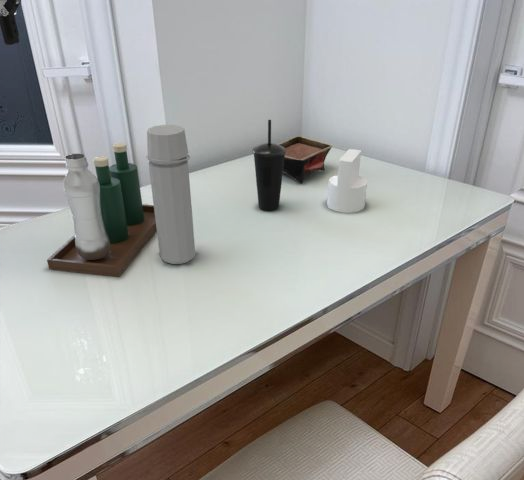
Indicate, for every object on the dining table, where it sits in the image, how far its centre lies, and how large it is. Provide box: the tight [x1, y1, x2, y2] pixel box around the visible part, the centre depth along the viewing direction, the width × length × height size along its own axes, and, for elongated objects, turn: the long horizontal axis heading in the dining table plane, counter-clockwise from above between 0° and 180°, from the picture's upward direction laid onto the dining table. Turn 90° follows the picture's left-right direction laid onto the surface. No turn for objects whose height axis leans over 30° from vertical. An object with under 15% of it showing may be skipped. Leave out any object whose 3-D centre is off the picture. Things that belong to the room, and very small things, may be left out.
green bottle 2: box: [109, 142, 144, 226], centre depth 120 cm, size 6×6×17 cm
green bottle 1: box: [93, 155, 129, 243], centre depth 113 cm, size 6×6×17 cm
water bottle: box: [146, 124, 196, 265], centre depth 105 cm, size 9×8×25 cm
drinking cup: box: [251, 119, 286, 212], centre depth 126 cm, size 8×8×20 cm
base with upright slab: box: [326, 148, 368, 214], centre depth 129 cm, size 9×9×12 cm
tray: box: [46, 203, 157, 278], centre depth 117 cm, size 15×30×2 cm, turn 168°
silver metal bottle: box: [62, 152, 110, 260], centre depth 105 cm, size 6×7×20 cm
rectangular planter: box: [277, 135, 333, 184], centre depth 149 cm, size 14×18×10 cm
